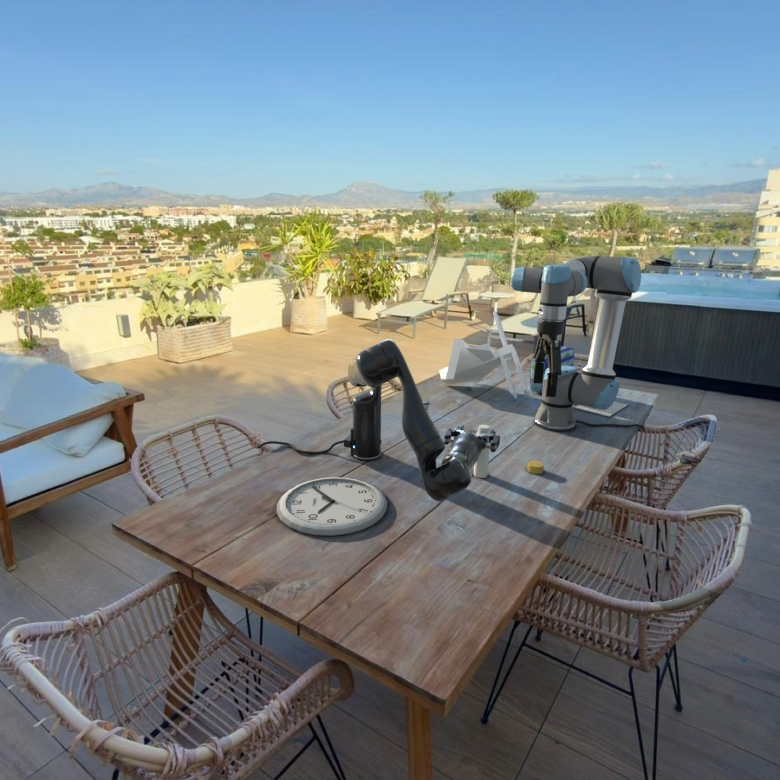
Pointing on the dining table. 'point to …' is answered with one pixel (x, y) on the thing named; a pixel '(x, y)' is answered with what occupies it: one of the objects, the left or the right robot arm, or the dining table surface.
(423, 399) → the fork
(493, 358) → the white plastic object
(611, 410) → the invitation card
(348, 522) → the wall clock
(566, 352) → the lunch box
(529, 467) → the lid
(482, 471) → the jar
